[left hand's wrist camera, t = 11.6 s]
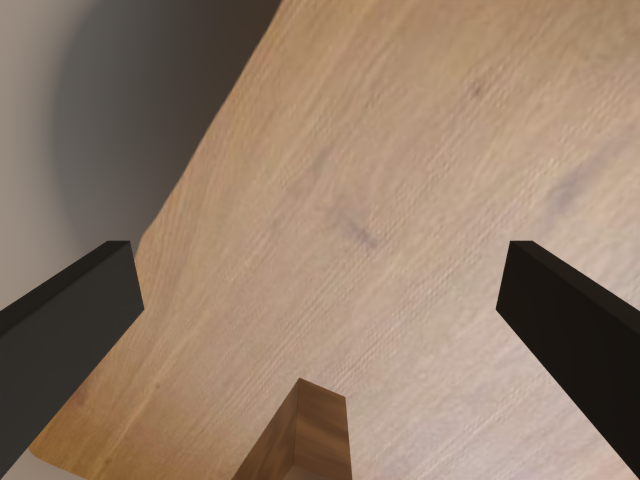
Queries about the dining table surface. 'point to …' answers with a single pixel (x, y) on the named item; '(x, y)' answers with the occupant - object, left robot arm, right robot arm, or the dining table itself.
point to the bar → (303, 439)
